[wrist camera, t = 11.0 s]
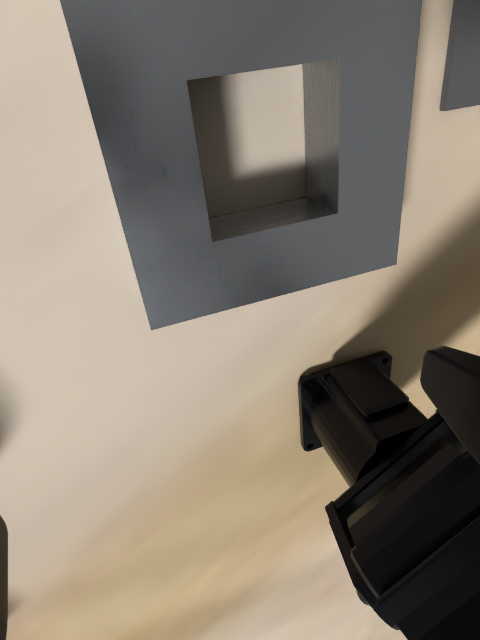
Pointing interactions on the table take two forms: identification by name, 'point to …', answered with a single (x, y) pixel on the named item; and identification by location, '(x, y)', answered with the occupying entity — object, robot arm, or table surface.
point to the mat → (462, 57)
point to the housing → (182, 154)
